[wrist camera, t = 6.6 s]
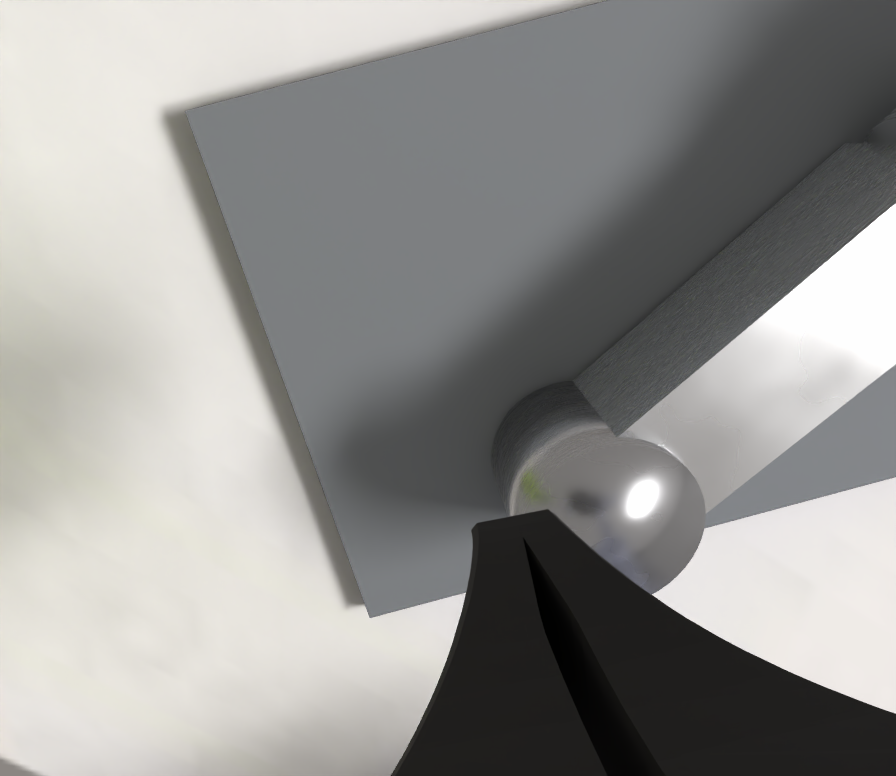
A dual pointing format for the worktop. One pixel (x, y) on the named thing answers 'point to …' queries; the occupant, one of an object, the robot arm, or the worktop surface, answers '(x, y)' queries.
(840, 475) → the duct board
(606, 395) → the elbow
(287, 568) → the worktop surface
